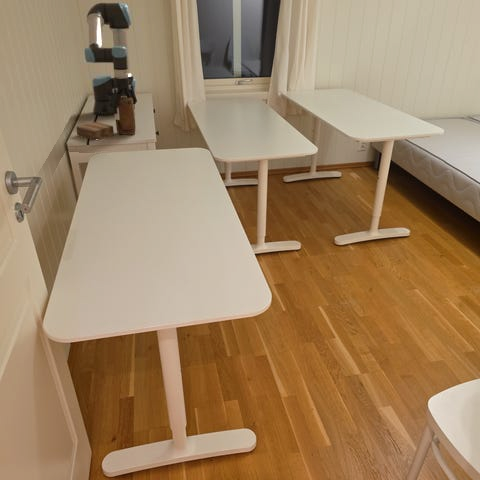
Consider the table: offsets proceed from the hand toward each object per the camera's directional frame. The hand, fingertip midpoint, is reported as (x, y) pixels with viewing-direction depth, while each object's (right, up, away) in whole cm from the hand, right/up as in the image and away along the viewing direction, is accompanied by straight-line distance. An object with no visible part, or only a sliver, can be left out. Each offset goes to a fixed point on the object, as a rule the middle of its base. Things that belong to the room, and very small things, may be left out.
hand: (125, 117), depth 255 cm
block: (0, -8, +4) cm, 9 cm away
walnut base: (-16, -10, -1) cm, 19 cm away
